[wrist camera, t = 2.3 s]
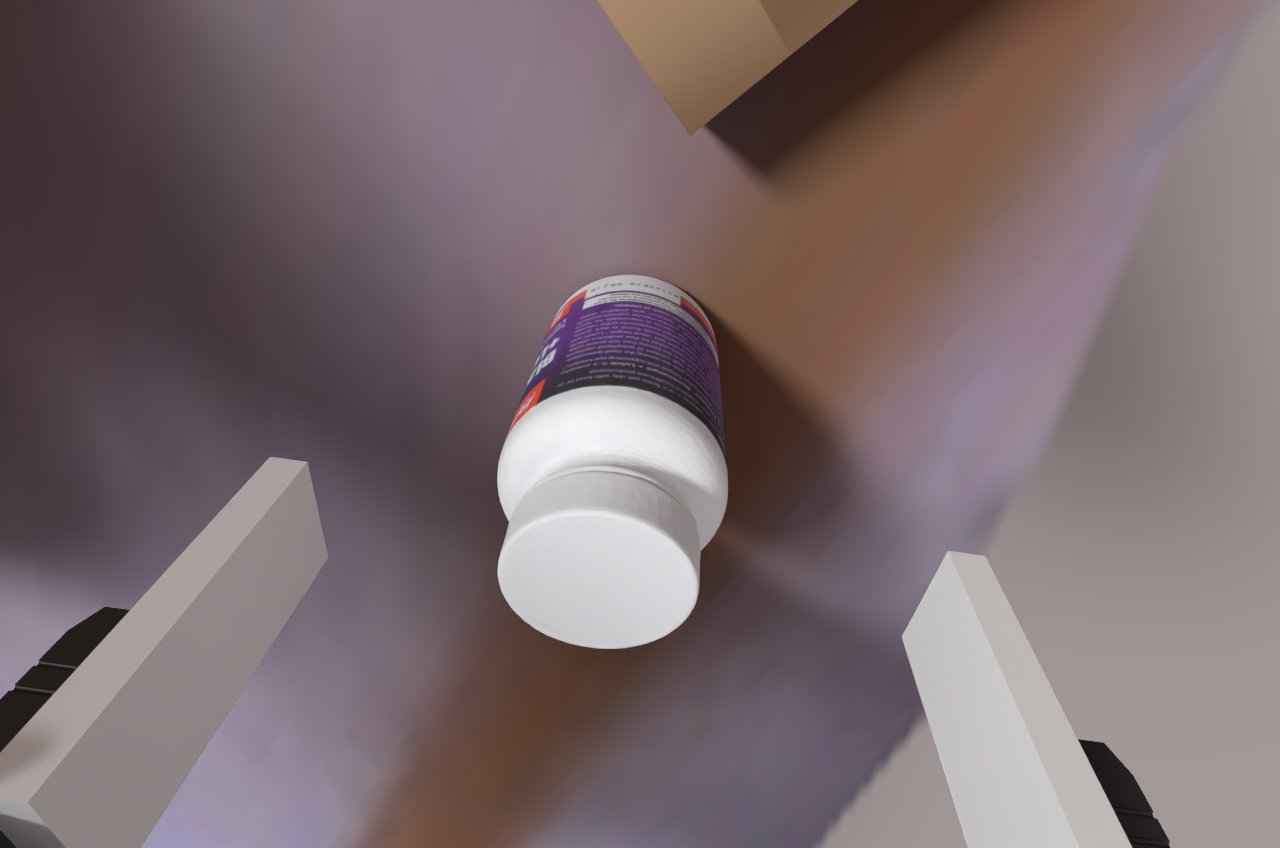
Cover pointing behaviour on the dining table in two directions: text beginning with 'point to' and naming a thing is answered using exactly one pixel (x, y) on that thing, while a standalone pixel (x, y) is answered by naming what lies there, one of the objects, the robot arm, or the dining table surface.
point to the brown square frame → (715, 45)
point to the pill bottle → (614, 467)
